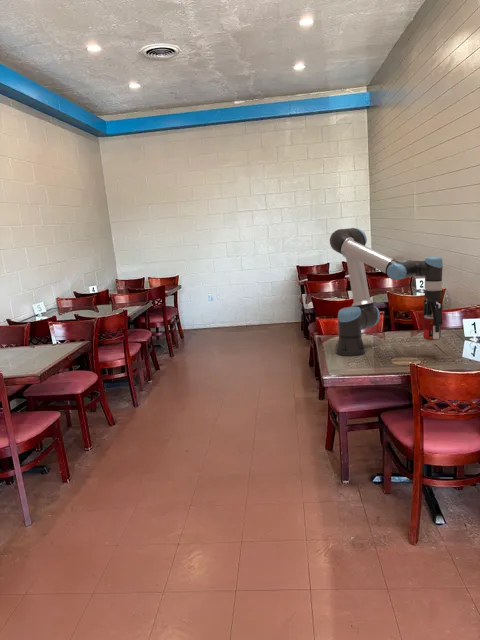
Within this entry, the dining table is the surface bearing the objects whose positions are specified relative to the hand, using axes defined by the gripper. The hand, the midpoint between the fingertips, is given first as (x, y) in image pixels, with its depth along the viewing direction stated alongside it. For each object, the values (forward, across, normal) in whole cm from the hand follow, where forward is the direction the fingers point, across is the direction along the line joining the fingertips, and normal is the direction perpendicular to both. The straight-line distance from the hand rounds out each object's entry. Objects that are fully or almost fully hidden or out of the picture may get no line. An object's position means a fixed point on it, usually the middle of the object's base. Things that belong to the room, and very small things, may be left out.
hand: (431, 336), depth 229 cm
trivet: (+10, -5, +14) cm, 18 cm away
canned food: (+1, 0, 0) cm, 1 cm away
